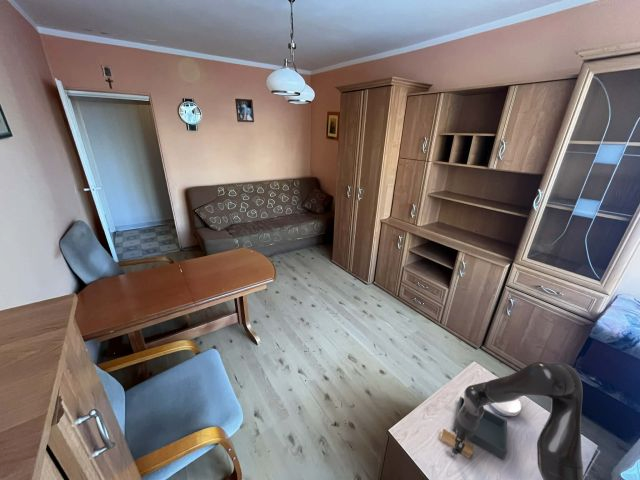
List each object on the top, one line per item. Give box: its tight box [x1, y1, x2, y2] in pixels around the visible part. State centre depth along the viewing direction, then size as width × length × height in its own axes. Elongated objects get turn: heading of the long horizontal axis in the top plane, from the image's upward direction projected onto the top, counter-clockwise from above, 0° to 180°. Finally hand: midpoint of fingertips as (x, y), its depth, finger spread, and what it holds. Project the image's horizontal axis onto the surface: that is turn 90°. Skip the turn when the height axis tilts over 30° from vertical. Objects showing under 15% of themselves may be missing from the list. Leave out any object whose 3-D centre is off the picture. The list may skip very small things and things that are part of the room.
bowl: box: [488, 398, 522, 417], centre depth 130 cm, size 14×14×8 cm
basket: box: [452, 396, 508, 460], centre depth 121 cm, size 16×20×6 cm
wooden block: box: [439, 428, 474, 459], centre depth 112 cm, size 7×12×5 cm, turn 57°
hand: (456, 443), depth 114 cm, fingers open, 8 cm apart
